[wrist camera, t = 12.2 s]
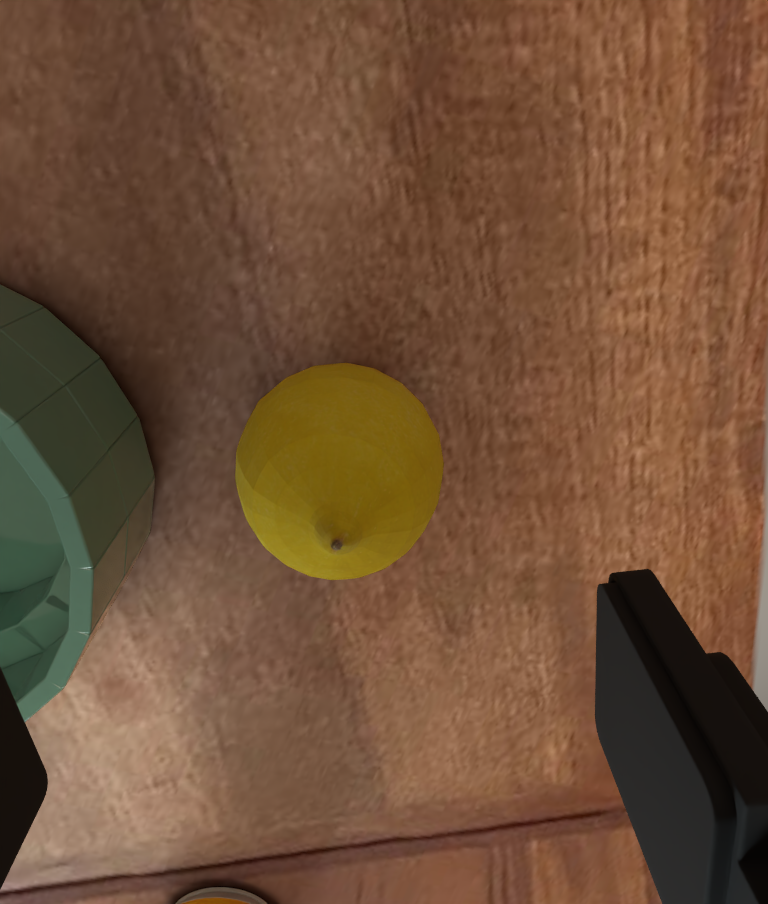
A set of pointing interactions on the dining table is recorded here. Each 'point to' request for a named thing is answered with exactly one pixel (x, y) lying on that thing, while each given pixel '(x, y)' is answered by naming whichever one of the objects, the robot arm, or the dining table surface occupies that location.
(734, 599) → the dining table surface
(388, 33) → the dining table surface
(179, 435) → the dining table surface
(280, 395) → the fruit
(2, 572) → the green pet bowl
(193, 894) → the beer can
